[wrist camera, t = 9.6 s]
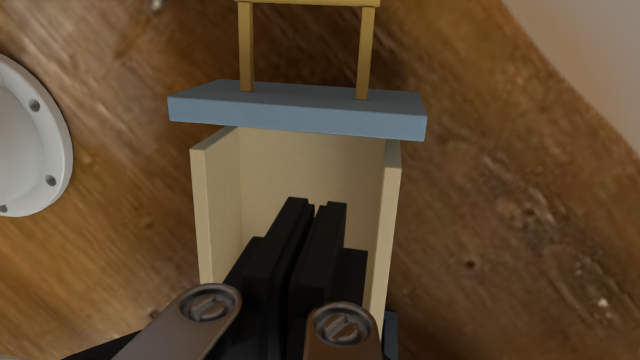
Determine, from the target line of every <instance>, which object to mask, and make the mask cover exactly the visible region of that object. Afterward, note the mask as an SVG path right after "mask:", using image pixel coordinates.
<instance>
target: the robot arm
mask: <svg viewBox="0 0 640 360" xmlns="http://www.w3.org/2000/svg"><path fill="white" fill-rule="evenodd" d="M72 166H73V151H72V142H71V138H70V135H69V131H68V128H67V125H66V123H65V121H64V118H63V116H62V114H61V112H60V110H59V108H58V106H57V105H56V103H55V102H54V100H53V99H52V97H51V96H50V94H49V93H48V92H47V90H46V89H45V88H44V87H43V86H42V85H41V83H40V82H39V81H38V80H37V79H36V78H35V77H34V76H33V75H31V74H30V73H29V72H28V71H27V70H26V69H25V68H23V67H22V66H21V65H19V64H18V63H16V62H15V61H13V60H11V59H10V58H8V57H7V56H4V55H2V54H0V215H1V216H11V217H19V216H27V215H31V214H33V213H36V212H38V211H41V210H42V209H44V208H46V207H48V206H49V205H51V204H53V203H54V202H55V201H56V200H57V199H58V198H59V197H60V196H61V195H62V194H63V192H64V191H65V189H66V187H67V186H68V183H69V180H70V177H71V174H72ZM346 214H347V203H343V202H334V201H328V202H327V204H326V206H325V205H320V206H319V208H318V211H317V213H316V216H315V205H314V204H309V201H308V199H307V198H299V197H290V196H289V197H288V198H287V200H286V202H285V203H284V205H283V206H282V208H281V210H280V211H279V213H278V215H277V216H276V218H275V220H274V221H273V223H272V225H271V226H270V228H269V230H268V231H267V233H266V235H265V236H264V237H259V236H253V237H252V238H251V240H250V241H249V243H248V244H247V246H246V247H245V249H244V250H243V252H242V253H241V255H240V256H239V258H238V259H237V261H236V262H235V264H234V265H233V267H232V268H231V270H230V272H229V273H228V275H227V276H226V278H225V279H224V281H223V282H222V283H204V284H200V285H196V286H194V287H191V288H189V289H187V290H185V291H184V292H182V293H181V294H180V295H178V296H177V297H176V298H175V299H174V300H173V301H172V302H171V303H170V304H169V305H168V306H167V307H166V308H165V309H164V310H163V311H162V312H161V313H160V314H158V315H157V316H156V317H155V318H154V319H153V320H152V321H151V322H150V323H149V324H148V325H147V326H146V327H145V328H144V329H142V330H139V331H137V332H134V333H131V334H128V335H126V336H123V337H120V338H117V339H114V340H112V341H109V342H106V343H103V344H101V345H98V346H95V347H92V348H90V349H87V350H84V351H81V352H78V353H76V354H73V355H70V356H68V357H66V358H64V359H61V360H391V359H390V358H389V357H388V356H387V355H386V354H385V353H383V352H382V350H381V344H380V337H379V331H378V326H377V323H376V320H375V318H374V317H373V316H372V315H371V314H370V312H369V311H367V310H366V309H364V308H363V307H362V305H363V296H364V287H365V278H366V268H367V259H368V251H367V250H359V249H351V248H344V239H345V226H346ZM0 360H30V359H24V358H19V357H13V356H7V355H2V354H0Z"/></svg>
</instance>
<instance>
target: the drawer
mask: <svg viewBox="0 0 640 360" xmlns="http://www.w3.org/2000/svg"><path fill="white" fill-rule="evenodd" d="M234 1H236V2H238V30H239V62H240V80H228V79H218V80H215V81H212V82H209V83H206V84H203V85H200V86H197V87H194V88H191V89H188V90H185V91H182V92H179V93H176V94H173V95H170V96H167V103H168V113H169V120H170V121H180V122H192V123H204V124H216V125H227V126H225V127H223V128H222V129H220V130H219V131H217V132H215V133H214V134H212V135H211V136H209V137H208V138H206V139H204V140H203V141H201V142H200V143H198V144H196V145H195V146H193V147H192V148H190V149H189V152H190V164H191V176H192V189H193V201H194V213H195V225H196V238H197V250H198V262H199V275H200V284H204V283H222V282H223V281H224V279H225V278H226V276H227V275H228V273H229V272H230V270H231V268H232V267H233V265H234V264H235V262H236V261H237V259H238V258H239V256H240V255H241V253H242V252H243V250H244V249H245V247H246V246H247V244H248V243H249V241H250V240H251V238H252V237H253V236H259V237H264V236H265V235H266V233H267V231H268V230H269V228H270V226H271V225H272V223H273V221H274V220H275V218H276V216H277V215H278V213H279V211H280V210H281V208H282V206H283V205H284V203H285V202H286V200H287V198H288V197H289V196H290V197H299V198H307V199H308V201H309V204H314V205H315V216H316V213H317V211H318V208H319V206H320V205H325V206H326V204H327V202H328V201H334V202H343V203H347V214H346V226H345V239H344V248H351V249H359V250H367V251H368V259H367V268H366V278H365V287H364V296H363V305H362V307H363V308H364V309H366V310H367V311H369V312H370V314H371V315H372V316H373V317H374V318H375V320H376V323H377V326H378V331H379V337H380V342H381V334H382V326H383V318H384V310H385V302H386V294H387V286H388V277H389V269H390V261H391V253H392V245H393V237H394V229H395V221H396V212H397V204H398V196H399V188H400V180H401V172H402V165H401V152H400V140H411V141H424V138H425V131H426V124H427V114H426V112H425V109H424V107H423V104H422V101H421V99H420V96H419V94H418V92H408V91H393V90H378V89H369V78H370V66H371V54H372V43H373V31H374V19H375V7H380V1H381V0H234ZM251 2H260V3H285V4H311V5H336V6H361V7H362V15H361V28H360V42H359V56H358V69H357V83H356V88H348V87H333V86H318V85H303V84H288V83H273V82H258V81H254V54H253V4H252V3H251Z"/></svg>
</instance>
